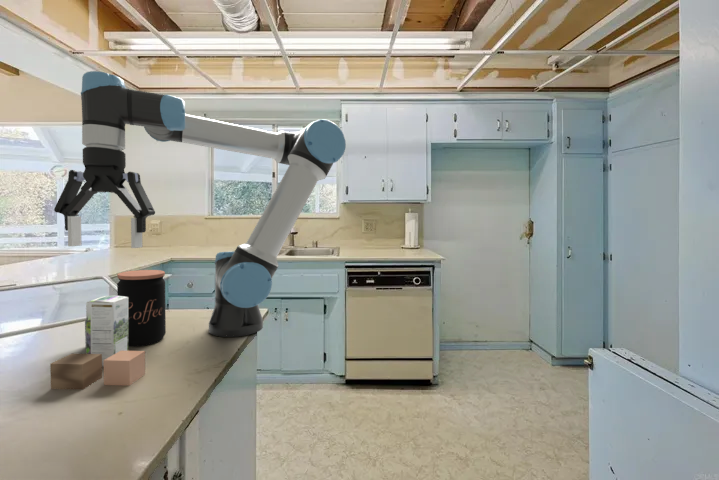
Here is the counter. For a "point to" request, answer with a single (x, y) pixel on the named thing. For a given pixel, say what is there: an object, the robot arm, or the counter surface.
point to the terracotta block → (124, 367)
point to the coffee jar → (144, 305)
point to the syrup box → (107, 326)
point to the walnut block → (76, 371)
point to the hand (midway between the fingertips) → (106, 247)
